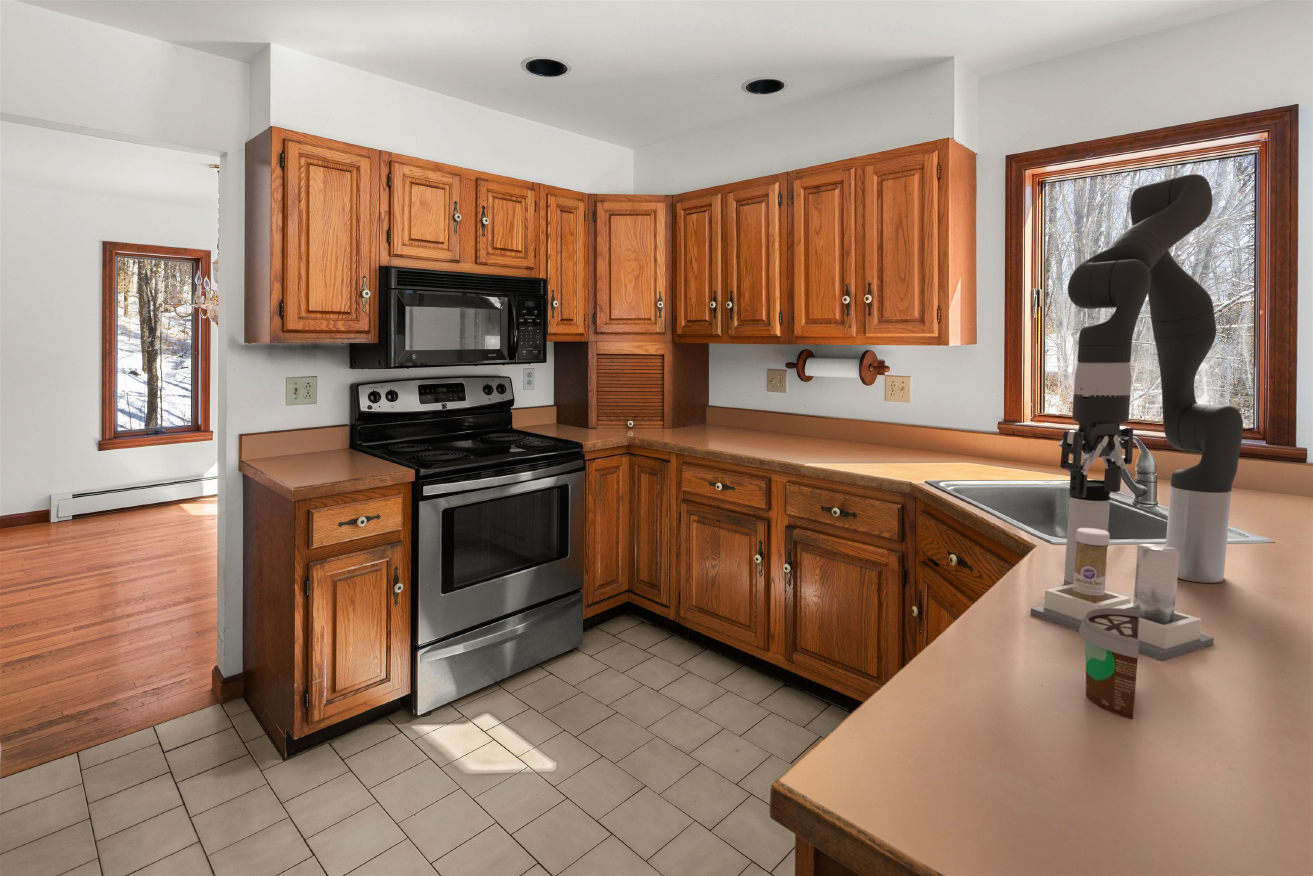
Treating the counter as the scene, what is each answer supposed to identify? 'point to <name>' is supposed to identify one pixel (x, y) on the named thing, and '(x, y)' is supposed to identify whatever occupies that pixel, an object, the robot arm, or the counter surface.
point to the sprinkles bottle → (1090, 564)
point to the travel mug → (1085, 520)
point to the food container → (1111, 658)
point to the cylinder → (1156, 582)
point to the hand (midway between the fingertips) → (1094, 494)
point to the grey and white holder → (1151, 635)
